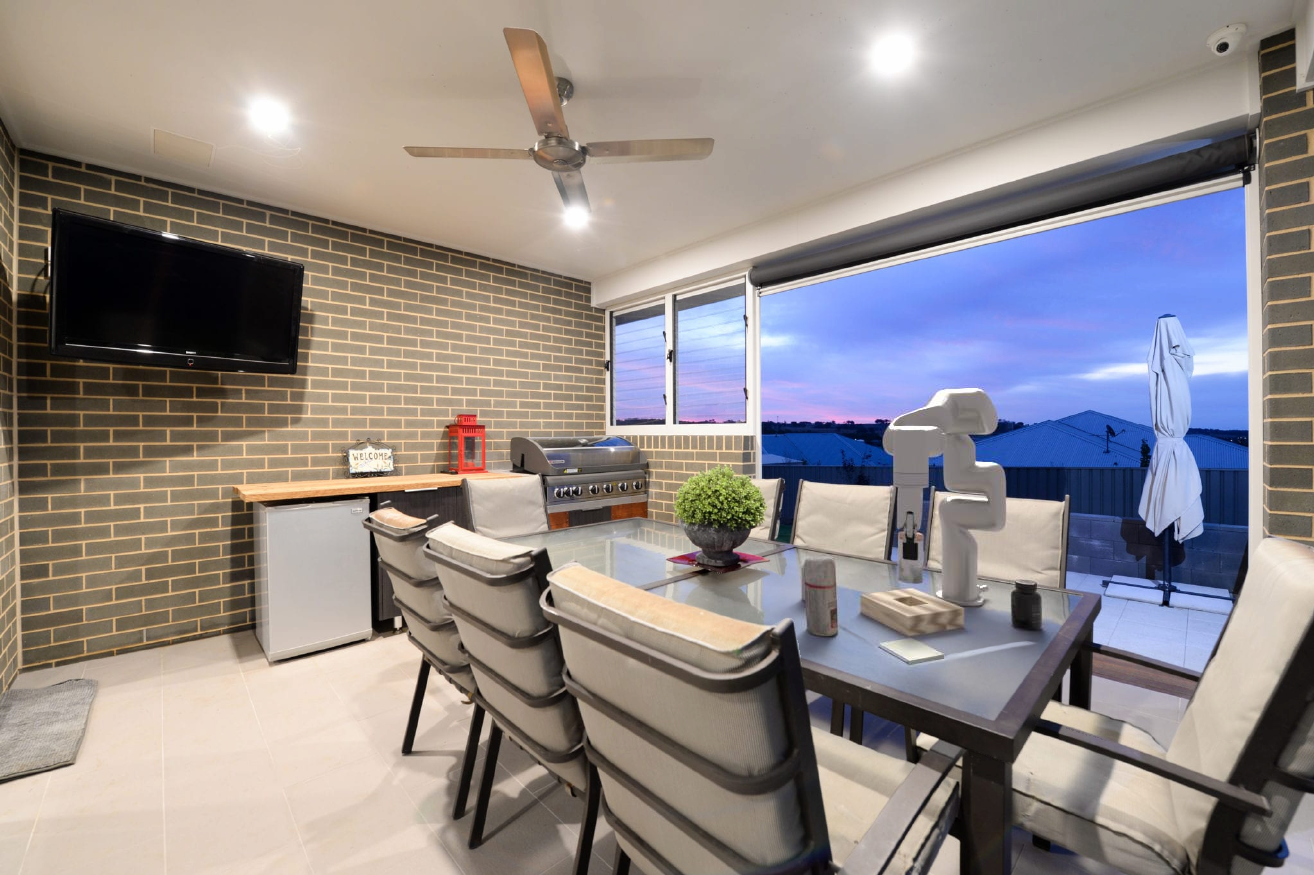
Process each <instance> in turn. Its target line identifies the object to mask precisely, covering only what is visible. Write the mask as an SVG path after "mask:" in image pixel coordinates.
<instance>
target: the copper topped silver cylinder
mask: <svg viewBox="0 0 1314 875" xmlns="http://www.w3.org/2000/svg"><path fill="white" fill-rule="evenodd" d="M913 533H914V532H913ZM903 542H904V531H899V532H898V534H897V580H898V581H899V582H902V583H906V584H910V585H912V584H914V585H917V584H918V585H919V584H922V583H923V581H924V580H923V579H924V534H923V533H920V532H918V533H917V543H918V560H906V559H903Z"/></svg>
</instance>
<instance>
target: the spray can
mask: <svg viewBox="0 0 1314 875" xmlns="http://www.w3.org/2000/svg"><path fill="white" fill-rule="evenodd" d="M804 562H805V566H804V582H805V599H806V602H805V614H806V617H805V618H806V621H805V622H806V631H807V632H808V633H809V634H812V635H814V636H818V637H832V636H835V635H837V634H838V632H839V628H838V626H839V625H838V624H839V623H838V622H839V620H838V603H837V602H838V598H837V597H838V596H837V573H836V572H837V571H836V562H835V560H834V557H832V556H831V555H830V554H822V555H819V556H817V557H811V558H806V559H805V561H804Z"/></svg>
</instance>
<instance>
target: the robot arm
mask: <svg viewBox="0 0 1314 875" xmlns="http://www.w3.org/2000/svg"><path fill="white" fill-rule="evenodd" d="M998 416H999V415H998V412H997V409H996V407H995V405H994V403H993V401H992V399H991V398H990V396H989V395H988V394H987V392H985V391H984V390H982V389H979V388H958V389H944V390H943V389H942V390H939V391H937V392H935V393H934V394H933V395H932V396H931V397H930V399H929V400H928V401H927V402H926V403H925V405H924V406H923V407H922V408H918V409H917V410H913V411H911V412H908V413H905V414H902V415H900V416H898V417H896V418H895V419H893V420H892V421H891V423H890V424H889V425H888V426H887V427H886V429H885V430H884V434H883V436H882V447H883V450H884V451H885V452H886V454H888V455H890V456H892V457H893V458H892V459H893V461H892V462H893V468H892V469H893V470H892V471H893V473H892V475H893V477H892V478H893V487H896V488H897V498H896V500H897V502H896V507H897V509H896V510H897V512H896V515H897V516H896V518H897V519H896V520H897V521H896V528H897V530H900V529H902V528H903V532H904V542H903V559H906V560H918V543H917V533H919V532H918V531H919V530H920V529H921V525H922V519H923V505H924V504H923V501H924V500H923V499H924V498H923V497H924V496H923V495H924V489H926V488H929V479H930V478H929V477H930V476H929V474H930V473H929V472H930V471H929V468H930V466H929V463H930V461H929V460H930V458H936V457H939V456H942V455H943V456H942V458H943V459H942V460H943V461H942V462H943V464H942V465H943V482H944V487H945V488H946V490H948V491H949V492H952V493H961V494H972V495H973V494H974V495H983V496H984V497H986V498H980V497H969V496H968V497H967V496H947V497H944V498H942V499H941V500H940V502H939V504H938V516H939V524H940V529H941V590H938V591H936V593H935V597H936V598H939V599H942V600H944V601H947V602H949V603H952V604H955V605H957V606H960V607H978V606H981V605H983V604H984V598H983V597H982V596H980V594H982V593H987V592H989V587H988V585H985V584H984V585H978V558H979V557H978V556H979V554H978V550H979V549H978V542H977V540H976V538H975V537H974V535H973V534H972V532H970V530H972V531H973V530H975V531H980V532H981V531H982V532H983V531H984V532H989V533H990V532H991V533H992V532H993V533H996V532H997V533H999V532H1001V531H1003V530H1004V528H1005V526H1006V522H1007V480H1006V473H1005V470H1004V468H1003V467H1002V465H1001V464H999V463H996V462H988V461H987V462H986V461H985V462H983V461H977V460H976V458H977V457H976V448H977V447H976V444H975V442H974V440H972V438H971V437H970V436H969V435H979V436H980V435H982V436H983V435H985V436H986V435H990V434H993V432H995V431H996V429H997V427H998V424H999V417H998ZM913 532H914V533H913Z"/></svg>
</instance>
